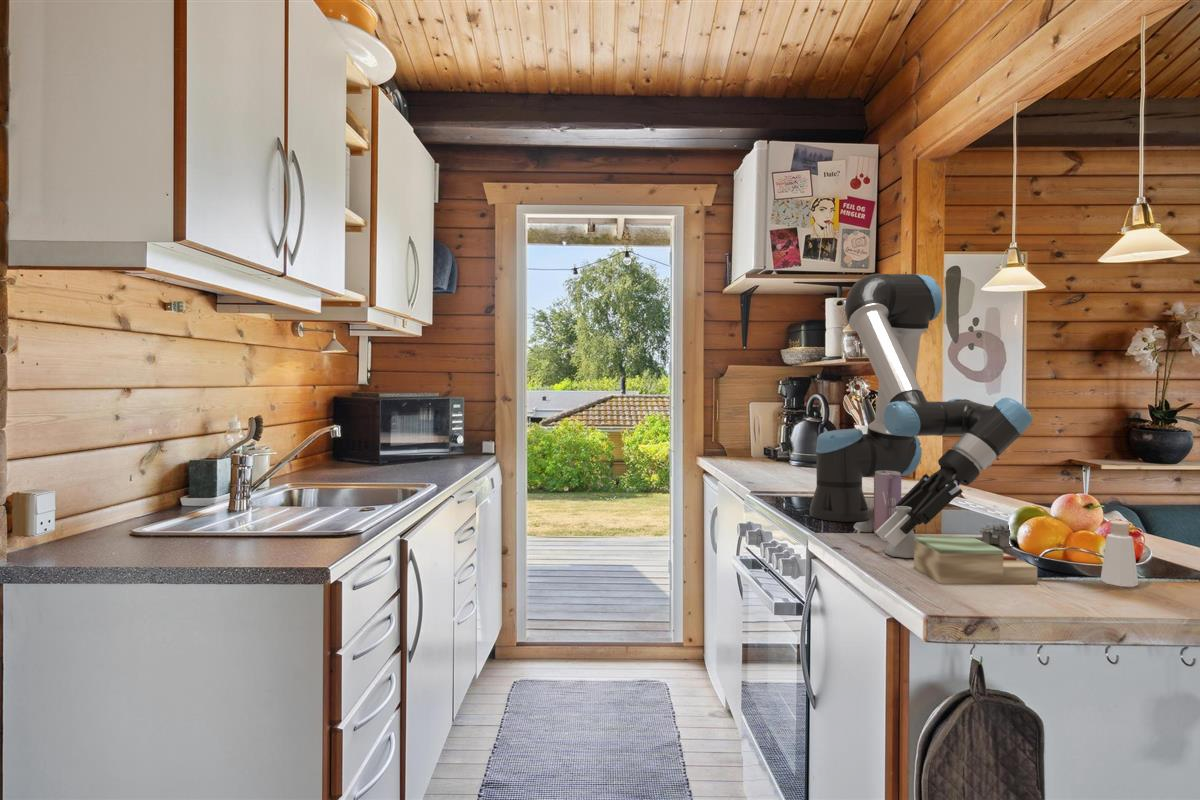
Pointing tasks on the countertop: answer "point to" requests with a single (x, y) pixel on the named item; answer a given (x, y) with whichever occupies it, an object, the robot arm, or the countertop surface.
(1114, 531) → the salt shaker
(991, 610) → the countertop surface
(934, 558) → the stand
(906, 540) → the flask
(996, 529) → the egg carton
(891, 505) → the beverage can
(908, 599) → the countertop surface
